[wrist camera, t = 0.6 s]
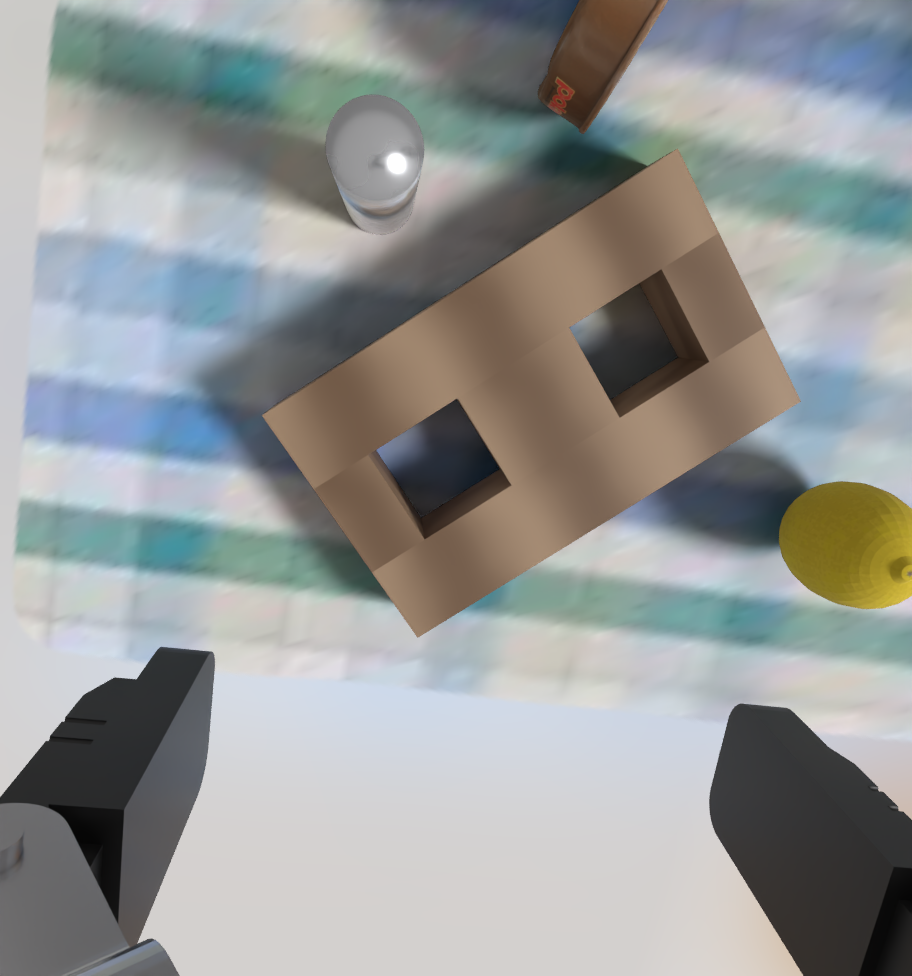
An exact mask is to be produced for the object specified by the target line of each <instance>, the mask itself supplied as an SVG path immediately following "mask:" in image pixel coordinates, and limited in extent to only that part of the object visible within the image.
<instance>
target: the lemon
mask: <svg viewBox="0 0 912 976" xmlns="http://www.w3.org/2000/svg"><path fill="white" fill-rule="evenodd" d="M779 545H780V549H781V553H782V557H783V559H784V561H785V562H786V564H787V566H788V568H789V569H790V571H791V573H792V574H793V575H794V576H795V577H796V578H797V579H798V580H799V581H800V582H801V583H802V584H803V585H805V586H806V587H807V588H808V589H809V590H811V591H812V592H814V593H816V594H818V595H820V596H822V597H823V598H825V599H827V600H829V601H832V602H834V603H837V604H841V605H845V606H850V607H855V608H861V609H876V608H885V607H888V606H892V605H895V604H898V603H900V602H902V601H904V600H905V599H907V598H909V597H910V596H912V509H911V508H910V507H909V506H907V505H906V504H905V503H904V502H902V501H901V500H900V499H898V498H897V497H895V496H894V495H892V494H891V493H889V492H886V491H884V490H881V489H879V488H876V487H873V486H871V485H867V484H863V483H855V482H842V481H841V482H832V483H827V484H822V485H819V486H816V487H814V488H812V489H809V490H807V491H806V492H804V493H803V494H802V495H800V496H799V497H798V498H796V499H795V500H794V502H793V503H792V504H791V505H790V506H789V507H788V509H787V511H786V512H785V514H784V516H783V518H782V521H781V525H780V529H779Z"/></svg>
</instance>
